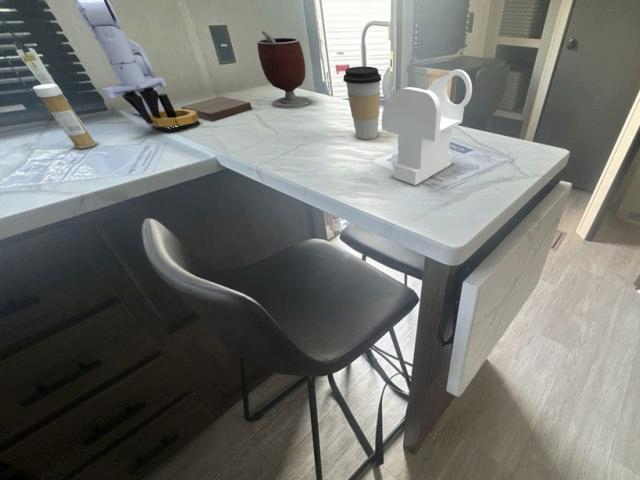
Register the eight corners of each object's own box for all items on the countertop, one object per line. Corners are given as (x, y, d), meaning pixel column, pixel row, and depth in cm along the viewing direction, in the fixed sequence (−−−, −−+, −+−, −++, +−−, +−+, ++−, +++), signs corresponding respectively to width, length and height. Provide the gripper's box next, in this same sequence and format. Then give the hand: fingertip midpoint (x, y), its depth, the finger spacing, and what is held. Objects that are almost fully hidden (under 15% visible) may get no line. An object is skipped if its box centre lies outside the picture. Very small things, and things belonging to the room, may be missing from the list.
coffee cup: (389, 132, 88) (387, 67, 77) (373, 144, 82) (369, 75, 71) (360, 128, 91) (354, 64, 80) (343, 138, 85) (334, 71, 74)
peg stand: (153, 127, 92) (136, 96, 86) (181, 119, 98) (168, 89, 92) (171, 132, 89) (155, 100, 83) (199, 124, 94) (186, 93, 89)
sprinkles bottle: (98, 142, 84) (58, 82, 74) (95, 147, 81) (53, 86, 72) (77, 144, 83) (34, 84, 73) (73, 150, 80) (28, 88, 70)
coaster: (184, 113, 102) (180, 106, 100) (223, 102, 111) (221, 96, 109) (213, 121, 96) (210, 113, 95) (252, 109, 105) (250, 102, 104)
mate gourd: (281, 97, 116) (263, 25, 101) (317, 98, 114) (304, 25, 100) (262, 109, 105) (240, 30, 91) (302, 110, 104) (285, 31, 89)
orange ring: (139, 121, 90) (136, 114, 89) (181, 113, 98) (179, 107, 97) (165, 129, 86) (161, 121, 85) (206, 120, 94) (204, 113, 93)
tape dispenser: (421, 154, 77) (426, 64, 64) (467, 168, 71) (481, 72, 58) (383, 174, 69) (379, 76, 56) (431, 191, 64) (438, 86, 51)
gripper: (100, 68, 73) (135, 131, 83) (160, 59, 81) (186, 117, 91) (85, 65, 75) (121, 127, 85) (145, 56, 84) (172, 113, 94)
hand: (154, 121), depth 88 cm, fingers closed on orange ring, 2 cm apart
